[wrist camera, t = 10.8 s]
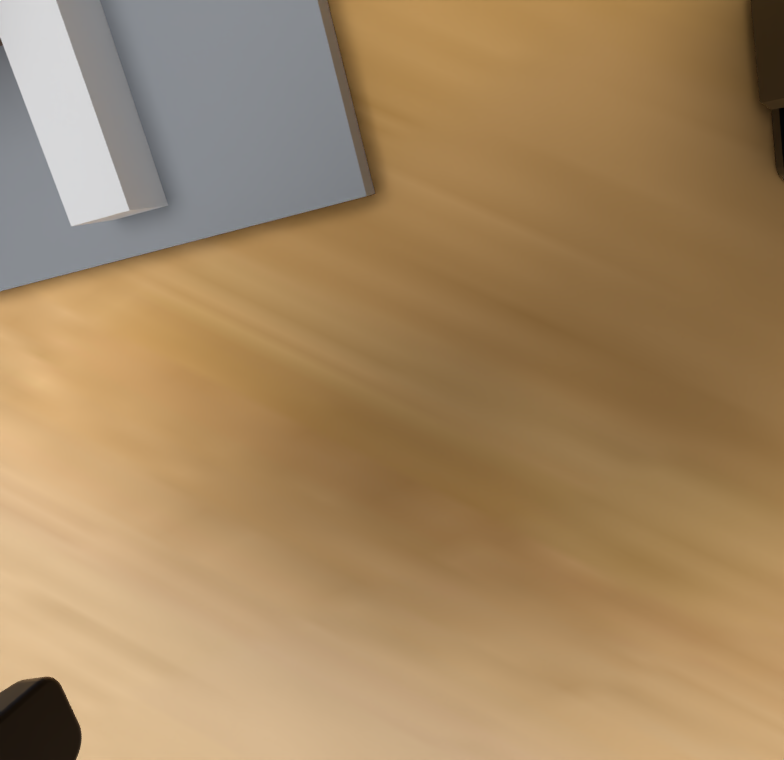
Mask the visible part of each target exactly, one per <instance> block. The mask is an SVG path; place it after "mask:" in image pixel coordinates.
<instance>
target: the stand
mask: <svg viewBox="0 0 784 760" xmlns="http://www.w3.org/2000/svg"><path fill="white" fill-rule="evenodd" d="M0 38H1V41H2V44H3V45H2V46H0V291H3V290H7V289H11V288H15V287H18V286H22V285H26V284H30V283H34V282H38V281H42V280H45V279H49V278H53V277H57V276H61V275H65V274H69V273H72V272H76V271H80V270H84V269H88V268H92V267H96V266H99V265H103V264H107V263H111V262H115V261H119V260H123V259H126V258H130V257H134V256H138V255H142V254H146V253H149V252H153V251H157V250H161V249H165V248H169V247H173V246H176V245H180V244H184V243H188V242H192V241H196V240H200V239H203V238H207V237H211V236H215V235H219V234H223V233H227V232H230V231H234V230H238V229H242V228H246V227H250V226H254V225H257V224H261V223H265V222H269V221H273V220H277V219H281V218H284V217H288V216H292V215H296V214H300V213H304V212H308V211H311V210H315V209H319V208H323V207H327V206H331V205H334V204H338V203H342V202H346V201H350V200H354V199H358V198H361V197H365V196H369V195H372V194H375V191H374V187H373V183H372V179H371V175H370V171H369V167H368V163H367V159H366V155H365V151H364V147H363V143H362V138H361V134H360V130H359V126H358V122H357V118H356V114H355V110H354V106H353V102H352V98H351V94H350V90H349V86H348V82H347V78H346V74H345V70H344V66H343V62H342V58H341V54H340V50H339V45H338V41H337V37H336V33H335V29H334V25H333V21H332V17H331V13H330V9H329V5H328V1H327V0H0Z"/></svg>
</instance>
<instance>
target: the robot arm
mask: <svg viewBox="0 0 784 760" xmlns="http://www.w3.org/2000/svg"><path fill="white" fill-rule="evenodd" d="M751 7H752V18H753V30H754V41H755V53H756V64H757V76H758V87H759V99H760V102H761V103H762V104H763V105H765V106H766V107H768V108H769V109H771V110H772V122H773V134H774V147H775V159H776V168H777V171H778V174H779V175H780V177H781V178H782V179H783V180H784V0H751ZM80 746H81V728H80V725H79V723H78V721H77V719H76V717H75V714H74V712H73V710H72V708H71V706H70V704H69V702H68V699H67V697H66V695H65V693H64V691H63V689H62V686H61V685H60V683H59V682H58V681H57V680H55V679H54V678H51V677H40V678H33V679H26V680H21V681H19V682H17V683H15V684H13V685H11V686H10V687H8V688H7V689H5V690H4V691H2V692H0V760H76V758H77V756H78V753H79V750H80Z"/></svg>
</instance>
